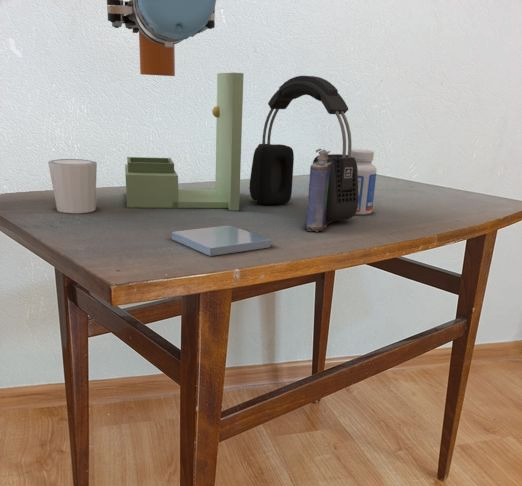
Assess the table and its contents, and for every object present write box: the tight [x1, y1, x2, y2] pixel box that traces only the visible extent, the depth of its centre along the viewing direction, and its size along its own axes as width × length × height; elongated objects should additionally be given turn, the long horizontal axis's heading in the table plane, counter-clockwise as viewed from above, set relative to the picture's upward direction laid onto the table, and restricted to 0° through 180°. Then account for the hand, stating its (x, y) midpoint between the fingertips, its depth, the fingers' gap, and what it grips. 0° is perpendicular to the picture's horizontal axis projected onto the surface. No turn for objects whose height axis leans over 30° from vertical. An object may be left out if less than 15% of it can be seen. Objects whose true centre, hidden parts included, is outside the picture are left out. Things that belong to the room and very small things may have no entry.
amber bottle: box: [138, 30, 176, 77], centre depth 85 cm, size 5×5×11 cm
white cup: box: [47, 158, 98, 214], centre depth 88 cm, size 7×7×7 cm
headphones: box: [248, 75, 358, 223], centre depth 92 cm, size 22×6×20 cm, turn 35°
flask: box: [305, 148, 332, 233], centre depth 85 cm, size 9×3×11 cm, turn 162°
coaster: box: [171, 224, 272, 257], centre depth 75 cm, size 9×9×1 cm
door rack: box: [124, 72, 245, 212], centre depth 96 cm, size 18×16×20 cm
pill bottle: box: [351, 148, 377, 216], centre depth 96 cm, size 6×5×10 cm
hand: (154, 24), depth 89 cm, fingers closed on amber bottle, 5 cm apart
